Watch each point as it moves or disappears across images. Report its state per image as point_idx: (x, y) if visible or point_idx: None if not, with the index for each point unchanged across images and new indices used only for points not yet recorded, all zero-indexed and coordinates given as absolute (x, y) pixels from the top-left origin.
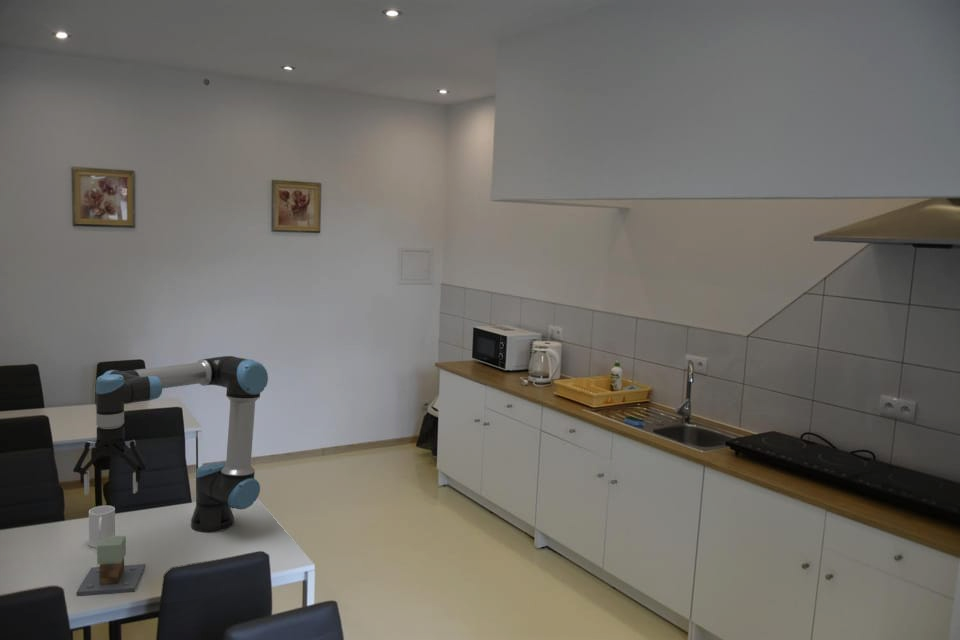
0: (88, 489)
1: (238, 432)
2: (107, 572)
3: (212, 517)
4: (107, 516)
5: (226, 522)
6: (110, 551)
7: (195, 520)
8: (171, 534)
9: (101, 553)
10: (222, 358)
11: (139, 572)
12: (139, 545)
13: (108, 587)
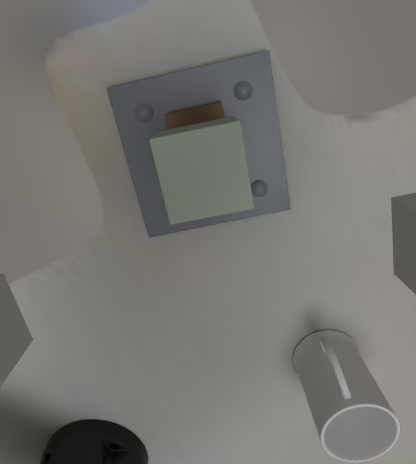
0: (411, 259)
1: None
2: (195, 107)
3: (66, 460)
4: (329, 405)
5: (44, 454)
6: (189, 128)
7: (121, 454)
8: (171, 405)
9: (222, 121)
10: None
11: (141, 186)
12: (224, 348)
13: (185, 86)
